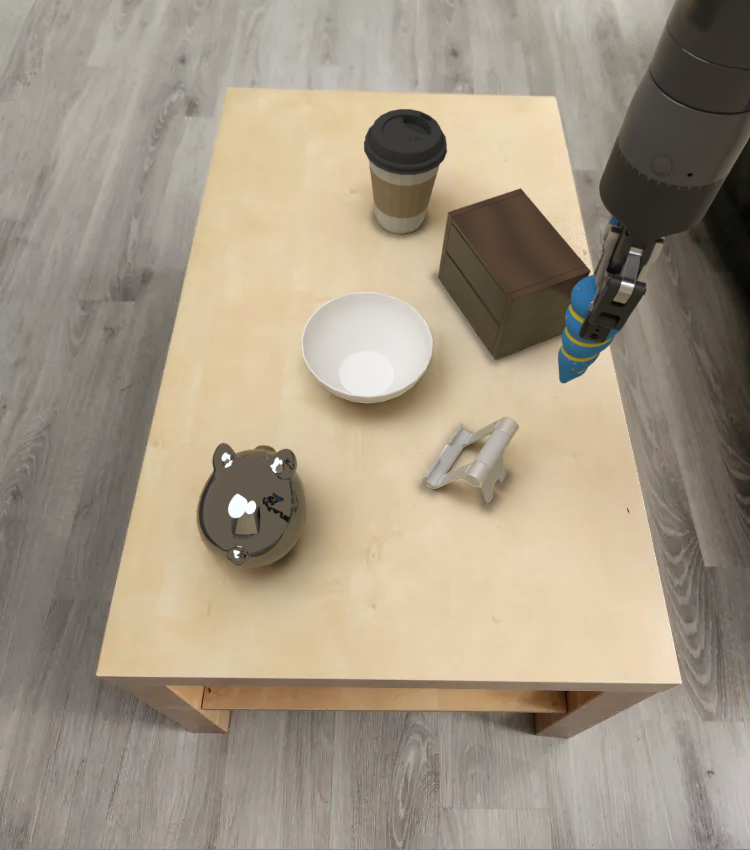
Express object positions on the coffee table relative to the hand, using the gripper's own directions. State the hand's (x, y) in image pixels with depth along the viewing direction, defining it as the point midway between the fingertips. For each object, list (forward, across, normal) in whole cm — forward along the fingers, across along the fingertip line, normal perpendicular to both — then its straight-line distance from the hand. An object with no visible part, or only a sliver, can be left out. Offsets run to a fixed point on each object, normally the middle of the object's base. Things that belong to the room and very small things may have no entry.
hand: (596, 311), depth 59 cm
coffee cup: (+28, +34, +27) cm, 52 cm away
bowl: (+28, +5, +22) cm, 36 cm away
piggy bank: (+28, -19, +27) cm, 43 cm away
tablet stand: (+28, -4, +6) cm, 29 cm away
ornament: (+11, 0, 0) cm, 11 cm away
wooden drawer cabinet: (+28, +23, +9) cm, 37 cm away
